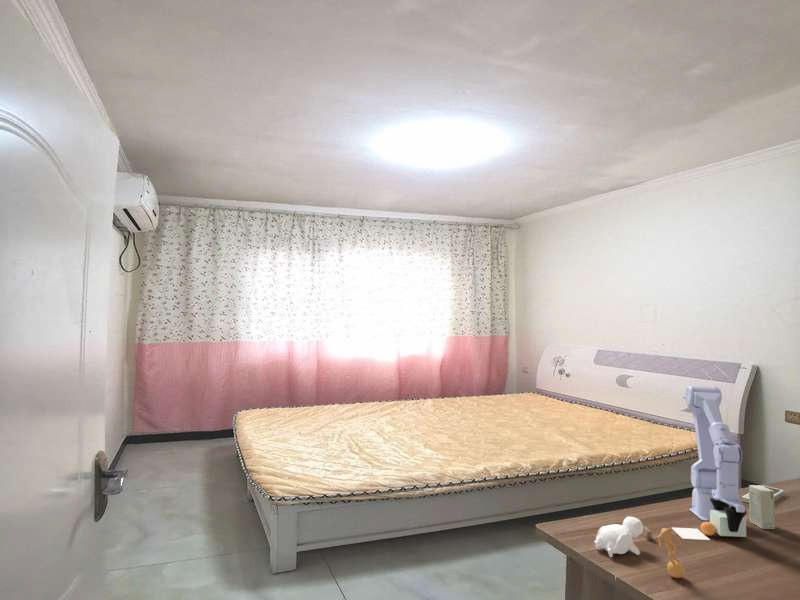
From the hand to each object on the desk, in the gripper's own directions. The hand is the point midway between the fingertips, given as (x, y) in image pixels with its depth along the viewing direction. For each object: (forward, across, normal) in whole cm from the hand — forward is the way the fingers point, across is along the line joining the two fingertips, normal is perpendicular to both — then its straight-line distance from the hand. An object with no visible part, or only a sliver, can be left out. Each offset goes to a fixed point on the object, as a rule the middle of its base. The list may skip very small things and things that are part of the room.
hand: (727, 526), depth 156 cm
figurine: (+3, +27, -28) cm, 39 cm away
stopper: (+3, 0, -26) cm, 26 cm away
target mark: (+3, 0, -11) cm, 11 cm away
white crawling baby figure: (+3, +13, -37) cm, 39 cm away
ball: (+1, 0, -6) cm, 6 cm away
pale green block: (+2, 0, 0) cm, 2 cm away
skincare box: (+3, -10, +16) cm, 19 cm away
